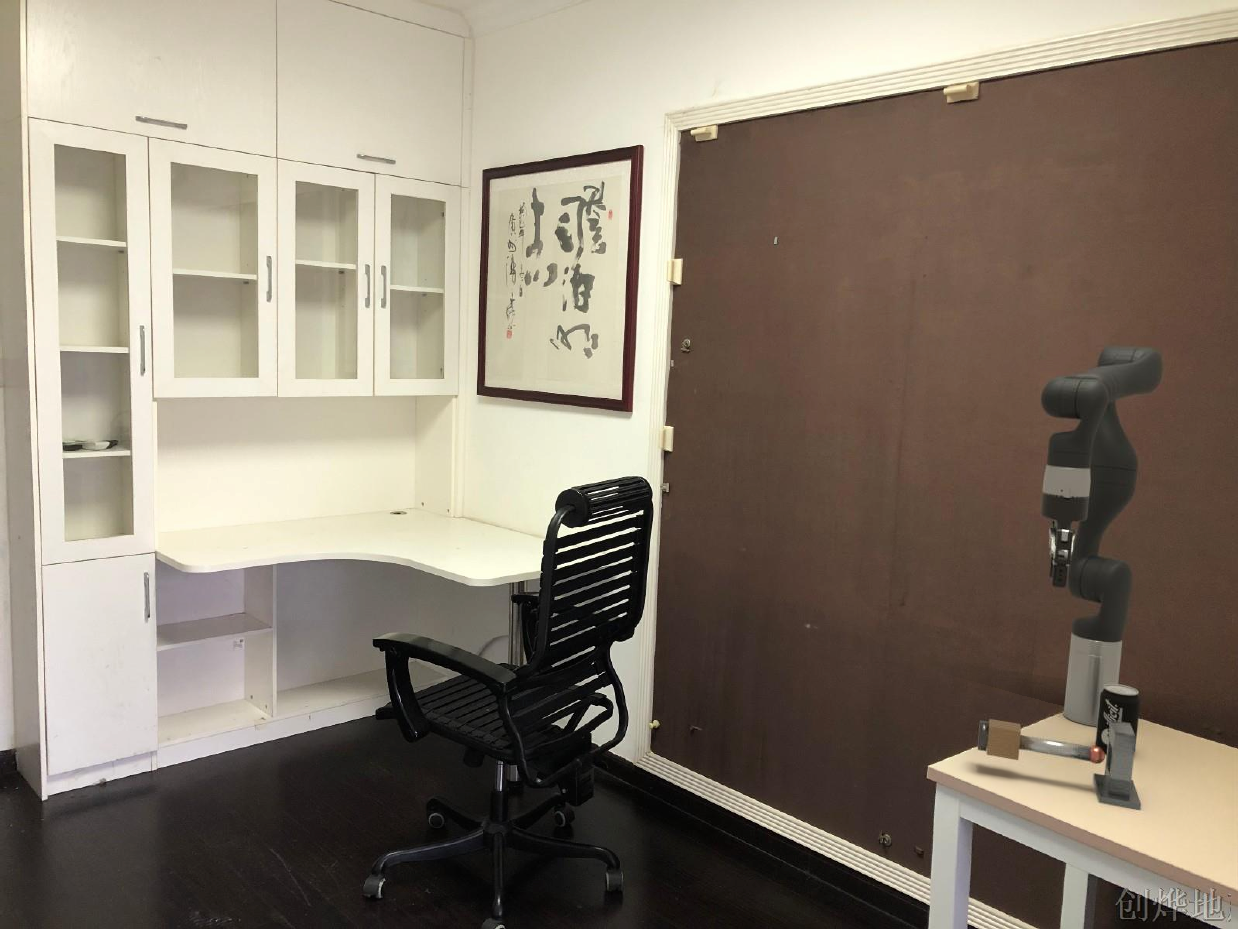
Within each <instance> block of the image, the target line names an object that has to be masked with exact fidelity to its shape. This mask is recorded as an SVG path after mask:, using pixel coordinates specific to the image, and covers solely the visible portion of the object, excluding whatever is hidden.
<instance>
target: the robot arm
mask: <svg viewBox="0 0 1238 929" xmlns="http://www.w3.org/2000/svg"><path fill="white" fill-rule="evenodd" d="M1163 369H1164V363H1163V358H1162V355H1161V353H1160V352H1159V351H1158V350H1157V349H1154V348H1152V347H1146V346H1144V347H1143V346H1120V345H1119V346H1117V345H1112V346H1106V347H1104V348H1103V349H1102V350H1101V352H1100V353H1099V357H1098V360H1097V364H1096V367H1094V368H1091V369H1088V370H1086V371H1084V372H1082V373H1078V374H1070V375H1061V376H1058V377H1057V376H1056V377H1054V378H1053V379H1051V380H1049V381H1048V382H1047V383H1046V385H1045V386H1044V387H1043V389H1042V392H1041V395H1040V403H1041V407H1042V409H1043V411H1044V412H1045V413H1046V414H1048V416H1051V417H1052V418H1057V419H1070V420H1080V422H1079V423H1078V425H1077V426H1076V427H1075V428H1074V429H1072V430H1069V431H1059V432H1054V433H1052V434H1051V435H1050V437H1049V439H1048V444H1047V445H1048V446H1047V458H1046V466H1045V471H1044V475H1043V482H1042V483H1043V484H1042V493H1041V505H1040V506H1041V507H1040V516H1042V517H1043V518H1046V519H1050V520H1052V521H1051V524H1052V526H1049V530H1048V537H1049V540H1048V547H1049V549H1050V550H1049V555H1050V564H1049V577H1051V578H1052V580H1051V584H1052V586H1053V587H1055V588H1062V589H1063V588H1064V589H1065V587H1067V588H1068V590H1069V593H1070V595H1072V596H1073V597H1074V598H1077V599H1080V600H1084V601H1088V602H1093V603H1097V604H1100V607H1099V610H1098V613H1097V614H1094V615H1083V616H1079V617H1076V618H1075V619H1073V621H1072V624H1071V625H1072V626H1071V636H1070V645H1069V646H1070V648H1069V657H1068V667H1067V676H1066V677H1067V678H1066V686H1065V687H1066V688H1065V696H1064V698H1065V699H1064V705H1063V706H1064V708H1063V716H1065V718H1066V719H1069V720H1070V721H1073V722H1075V723H1077V724H1083V725H1087V726H1093V727H1097V722H1098V713H1099V703H1100V693H1101V692H1102V690H1103V689H1104V685H1105V684H1119V678H1120V668H1121V667H1120V666H1121V657H1122V649H1123V648H1122V646H1123V637H1124V632H1125V629H1126V626H1127V621H1128V614H1129V609H1130V608H1129V607H1130V601H1131V597H1132V589H1133V582H1134V581H1133V580H1134V577H1133V570H1132V568H1131V566H1130V565H1129V563H1128V562H1127V561H1123V560H1119V559H1117V558H1115V559H1114V558H1111V557H1106V556H1105V557H1104V556H1099V552H1100V551H1099V550H1100V547H1101V542H1102V540H1103V537H1104V535H1105V533H1106V531H1107V529H1108V528H1109V526H1110V525H1111V524H1112V523H1113V521H1114V520H1116V518H1117V517H1118V516H1119V515H1120V514H1121V512H1123V511H1124V509H1125V508H1126V507H1127V506H1128V504H1129V503H1130V502H1131V501H1132V499H1133V497H1134V495H1135V491H1136V485H1137V479H1138V478H1137V477H1138V470H1139V459H1138V456H1137V453H1136V451H1135V450H1136V449H1134V447H1133V445H1132V443H1131V441H1130V439H1129V437H1128V435H1127V434H1126V432H1125V430H1124V428H1123V426H1122V424H1121V422H1120V419H1119V416H1118V412H1117V403H1116V401H1117V400H1120V399H1122V398H1125V397H1129V396H1134V395H1143V394H1150V393H1152V392H1154V391H1155V390H1156V389H1157V388H1158V386H1159V385H1160V383H1161V380H1162V377H1163V371H1164V370H1163ZM1073 522H1078V526H1077V530H1076V531H1075V529H1074V528H1071V527H1072V523H1073Z"/></svg>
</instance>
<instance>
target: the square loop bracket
mask: <svg viewBox="0 0 1238 929" xmlns="http://www.w3.org/2000/svg"><path fill="white" fill-rule="evenodd" d="M1135 740H1136V741H1137V738H1136V737H1135V734H1134V732H1133V729H1132V727H1131V724H1130V723H1125V722H1119V721H1112V720H1110V727H1109V737H1108V746H1107V754H1106V755H1105V759H1106V760H1105V767H1104V774H1100V773H1094V772H1093V777H1092V779H1093V780H1092V781H1093V785H1094V788H1095V792H1096V796H1097V799H1098V803H1102V804H1107V805H1112V806H1118V807H1122V808H1129V809H1135V810H1139V811H1140V810H1141V806H1142V802H1141V800H1140V797H1139V794H1138V791H1137V787H1136V785H1135V782H1134V780H1133V779H1132V777H1133V767H1134V758H1135V753H1134V750H1135V751H1136V747H1135Z"/></svg>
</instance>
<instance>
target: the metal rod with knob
mask: <svg viewBox="0 0 1238 929" xmlns="http://www.w3.org/2000/svg"><path fill="white" fill-rule="evenodd" d="M1021 730H1022V727H1021V723H1016V722H1011V721H1003V720H998V719H992V718H989V720H988V721H985V720H979V728H978V740H977V750H978V751H982V752H986V755H987V756H991V757H992V756H993V757H998V758H1003V759H1008V760H1015V761H1019V757H1020V750H1021V751H1027V752H1033V753H1039V754H1045V755H1049V756H1055V757H1056V756H1057V757H1062V758H1069V759H1073V760H1078V761H1079V760H1080V761H1086V762H1090V763H1092V764H1095V765H1097V764H1102V763H1103V762H1104V761H1105V759H1106V754H1105V753H1104V751H1103V750H1102V749H1101V748H1099V747H1097V746H1096V745H1093V746H1089V745H1083V744H1076V743H1071V742H1065V741H1059V740H1054V739H1053V740H1052V739H1047V738H1041V737H1035V736H1029V735H1023V734H1021V733H1022V731H1021Z"/></svg>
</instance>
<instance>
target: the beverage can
mask: <svg viewBox="0 0 1238 929" xmlns="http://www.w3.org/2000/svg"><path fill="white" fill-rule="evenodd" d="M1140 708H1141V698H1140V696H1139V690H1137V688H1134V687H1133V686H1129V685H1124V684H1119V683H1118V684H1105V685H1104V689H1103V690H1102V692H1101V693H1100V703H1099V713H1098V722H1097V726H1096V734H1095V746H1097V747H1099V748H1101V749H1102V750H1103V751H1104V753H1105V755H1107V746H1108V737H1109V727H1110V720H1112V721H1119V722H1125V723H1130V724H1131V727H1132V729H1133V732H1134V734H1135V737H1136V740H1135V748H1136V746H1137V736H1138V727H1139V719H1140V718H1139V716H1140ZM1135 752H1136V749H1135V750H1134V754H1135Z"/></svg>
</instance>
